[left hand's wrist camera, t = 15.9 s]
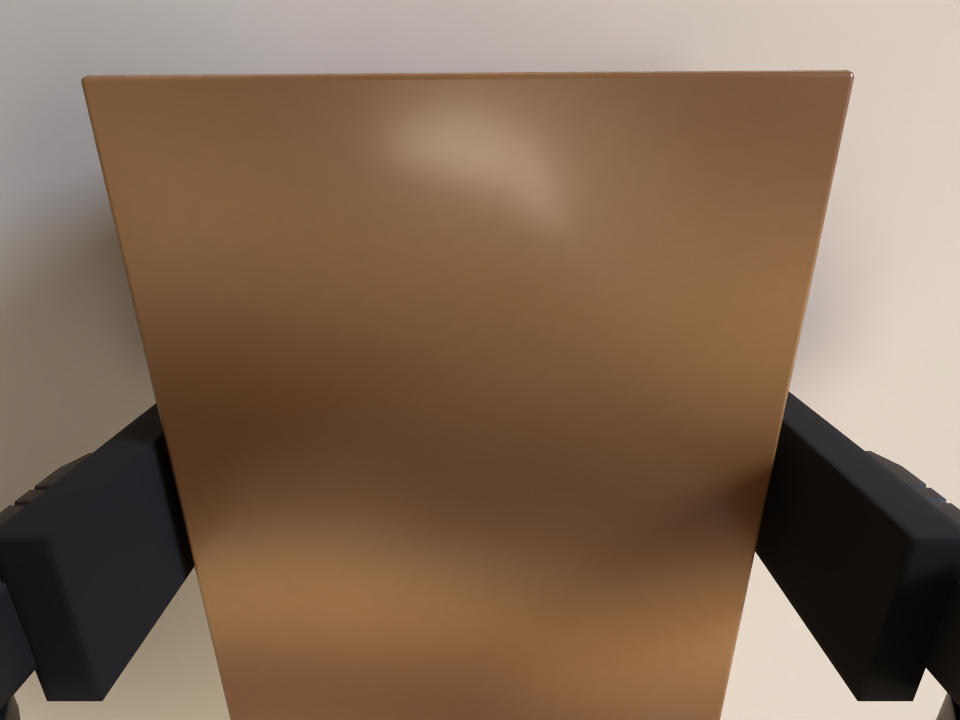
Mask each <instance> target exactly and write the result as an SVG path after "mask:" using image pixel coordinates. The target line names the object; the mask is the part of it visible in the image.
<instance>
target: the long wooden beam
mask: <svg viewBox="0 0 960 720" xmlns="http://www.w3.org/2000/svg"><path fill="white" fill-rule="evenodd" d="M853 80H854V74H853V73H852V72H850V71H848V70H821V71H672V72H523V73H374V74H225V75H88V76H86V77H84V78H82V87H83V91H84V95H85V100H86V104H87V108H88V112H89V117H90V121H91V125H92V130H93V134H94V138H95V142H96V147H97V151H98V155H99V159H100V164H101V168H102V172H103V177H104V181H105V185H106V189H107V194H108V198H109V202H110V206H111V211H112V215H113V219H114V224H115V228H116V232H117V236H118V241H119V245H120V249H121V253H122V258H123V262H124V266H125V271H126V275H127V279H128V283H129V288H130V292H131V296H132V300H133V305H134V309H135V313H136V318H137V322H138V326H139V330H140V335H141V339H142V343H143V347H144V352H145V356H146V360H147V365H148V369H149V373H150V377H151V382H152V386H153V390H154V394H155V399H156V403H157V407H158V411H159V416H160V420H161V424H162V429H163V433H164V437H165V441H166V446H167V450H168V454H169V458H170V463H171V467H172V471H173V476H174V480H175V484H176V488H177V493H178V497H179V501H180V505H181V510H182V514H183V518H184V523H185V527H186V531H187V535H188V540H189V544H190V548H191V552H192V557H193V561H194V565H195V570H196V574H197V578H198V582H199V587H200V591H201V595H202V599H203V604H204V608H205V612H206V617H207V621H208V625H209V629H210V634H211V638H212V642H213V646H214V651H215V655H216V659H217V663H218V668H219V672H220V676H221V681H222V685H223V689H224V693H225V698H226V702H227V706H228V710H229V715H230V719H231V720H720V717H721V712H722V707H723V702H724V697H725V693H726V688H727V683H728V678H729V673H730V669H731V664H732V659H733V654H734V650H735V645H736V640H737V635H738V630H739V626H740V621H741V616H742V611H743V606H744V602H745V597H746V592H747V587H748V582H749V578H750V573H751V568H752V563H753V559H754V554H755V549H756V544H757V539H758V535H759V530H760V525H761V520H762V515H763V511H764V506H765V501H766V496H767V491H768V487H769V482H770V477H771V472H772V468H773V463H774V458H775V453H776V448H777V444H778V439H779V434H780V429H781V424H782V420H783V415H784V410H785V405H786V400H787V396H788V391H789V386H790V381H791V377H792V372H793V367H794V362H795V357H796V353H797V348H798V343H799V338H800V333H801V329H802V324H803V319H804V314H805V309H806V305H807V300H808V295H809V290H810V285H811V281H812V276H813V271H814V266H815V262H816V257H817V252H818V247H819V242H820V238H821V233H822V228H823V223H824V218H825V214H826V209H827V204H828V199H829V194H830V190H831V185H832V180H833V175H834V171H835V166H836V161H837V156H838V151H839V147H840V142H841V137H842V132H843V127H844V123H845V118H846V113H847V108H848V103H849V99H850V94H851V89H852V84H853Z"/></svg>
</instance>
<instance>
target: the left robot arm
mask: <svg viewBox="0 0 960 720" xmlns="http://www.w3.org/2000/svg"><path fill="white" fill-rule="evenodd" d="M755 552H756V553H757V555H758V556H759V557H760V559H761V560H762V562H763V563H764V565H765V566H766V568H767V569H768V571H769V572H770V574H771V575H772V576H773V578H774V579H775V581H776V582H777V584H778V585H779V587H780V588H781V590H782V591H783V593H784V594H785V595H786V597H787V598H788V600H789V601H790V603H791V604H792V606H793V607H794V609H795V610H796V612H797V613H798V614H799V616H800V617H801V619H802V620H803V622H804V623H805V625H806V626H807V628H808V629H809V631H810V632H811V633H812V635H813V636H814V638H815V639H816V641H817V642H818V644H819V645H820V647H821V648H822V650H823V651H824V652H825V654H826V655H827V657H828V658H829V660H830V661H831V663H832V664H833V666H834V667H835V669H836V670H837V672H838V673H839V674H840V676H841V677H842V679H843V680H844V682H845V683H846V685H847V686H848V688H849V689H850V691H851V692H852V693H853V695H854V696H855V698H856V699H857V701H913V699H914V697H915V694H916V692H917V689H918V686H919V684H920V681H921V679H922V676H923V673H924V671H925V668H927V669H928V670H929V672H930V673H931V674H932V675H933V676H934V677H935V678H936V680H937V681H938V682H939V683H940V684H941V685H942V687H943V688H944V689H945V690H946V691H947V695H946V697H945V700H944V702H943V704H942V707H941V709H940V712H939V714H938V717H937V719H936V720H960V510H959V509H958V508H957V507H955V506H954V505H953V504H951V503H946V499H945V498H943V497H942V496H941V495H939V494H938V493H937V492H935V491H934V490H933V489H931V488H926V484H925V483H924V482H922V481H921V480H920V479H918V478H917V477H916V476H914V475H913V474H912V473H910V472H909V471H908V470H906V469H905V468H904V467H902V466H900V465H898V464H896V463H894V462H892V461H890V460H888V459H886V458H884V457H882V456H880V455H877V454H875V453H873V452H871V451H864V450H863V449H861V448H860V447H859V446H858V445H856V444H855V443H854V442H852V441H851V440H850V439H849V438H847V437H846V436H845V435H844V434H842V433H841V432H840V431H839V430H837V429H836V428H835V427H833V426H832V425H831V424H830V423H828V422H827V421H826V420H825V419H823V418H822V417H821V416H819V415H818V414H817V413H816V412H814V411H813V410H812V409H811V408H809V407H808V406H807V405H805V404H804V403H803V402H802V401H800V400H799V399H798V398H797V397H795V396H794V395H793V394H791V393H790V392H789V391H788V396H787V400H786V405H785V410H784V415H783V420H782V424H781V429H780V434H779V439H778V444H777V448H776V453H775V458H774V463H773V468H772V472H771V477H770V482H769V487H768V491H767V496H766V501H765V506H764V511H763V515H762V520H761V525H760V530H759V535H758V539H757V544H756V549H755ZM194 566H195V565H194V561H193V557H192V552H191V548H190V544H189V540H188V535H187V531H186V527H185V523H184V518H183V514H182V510H181V505H180V501H179V497H178V493H177V488H176V484H175V480H174V476H173V471H172V467H171V463H170V458H169V454H168V450H167V446H166V441H165V437H164V433H163V429H162V424H161V420H160V416H159V411H158V407H157V403H156V404H155V405H153V406H152V407H151V408H149V409H148V410H147V411H146V412H144V413H143V414H142V415H141V416H139V417H138V418H137V419H135V420H134V421H133V422H132V423H130V424H129V425H128V426H127V427H125V428H124V429H123V430H121V431H120V432H119V433H118V434H116V435H115V436H114V437H113V438H111V439H110V440H109V441H107V442H106V443H105V444H104V445H102V446H101V447H100V448H99V449H97V450H96V451H95V452H93V453H89V454H87V455H85V456H83V457H81V458H79V459H77V460H75V461H73V462H71V463H69V464H67V465H65V466H63V467H60V468H58V469H57V470H56V471H55V472H53V473H52V474H51V475H49V476H48V477H47V478H45V479H44V480H43V481H41V482H40V483H39V484H37V485H36V486H35V489H34V490H29V491H28V492H27V493H26V494H24V495H23V496H22V497H20V498H19V499H18V500H16V501H15V505H14V506H8V507H7V508H6V509H4V510H3V511H2V512H0V720H20V714H19V707H18V704H17V702H16V700H15V697H14V694H15V692H16V691H17V690H18V689H19V688H20V686H21V685H22V684H23V683H24V682H25V681H26V679H27V678H28V677H29V676H30V675H31V674H32V672H33V671H34V670H35V671H36V673H37V676H38V679H39V681H40V684H41V686H42V689H43V692H44V694H45V697H46V699H47V701H103V699H104V698H105V696H106V695H107V693H108V692H109V690H110V689H111V688H112V686H113V685H114V683H115V682H116V680H117V679H118V677H119V676H120V674H121V673H122V671H123V670H124V669H125V667H126V666H127V664H128V663H129V661H130V660H131V658H132V657H133V655H134V654H135V652H136V651H137V650H138V648H139V647H140V645H141V644H142V642H143V641H144V639H145V638H146V636H147V635H148V633H149V632H150V631H151V629H152V628H153V626H154V625H155V623H156V622H157V620H158V619H159V617H160V616H161V614H162V613H163V612H164V610H165V609H166V607H167V606H168V604H169V603H170V601H171V600H172V598H173V597H174V595H175V594H176V593H177V591H178V590H179V588H180V587H181V585H182V584H183V582H184V581H185V579H186V578H187V576H188V575H189V573H190V572H191V571H192V569H193V568H194Z"/></svg>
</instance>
